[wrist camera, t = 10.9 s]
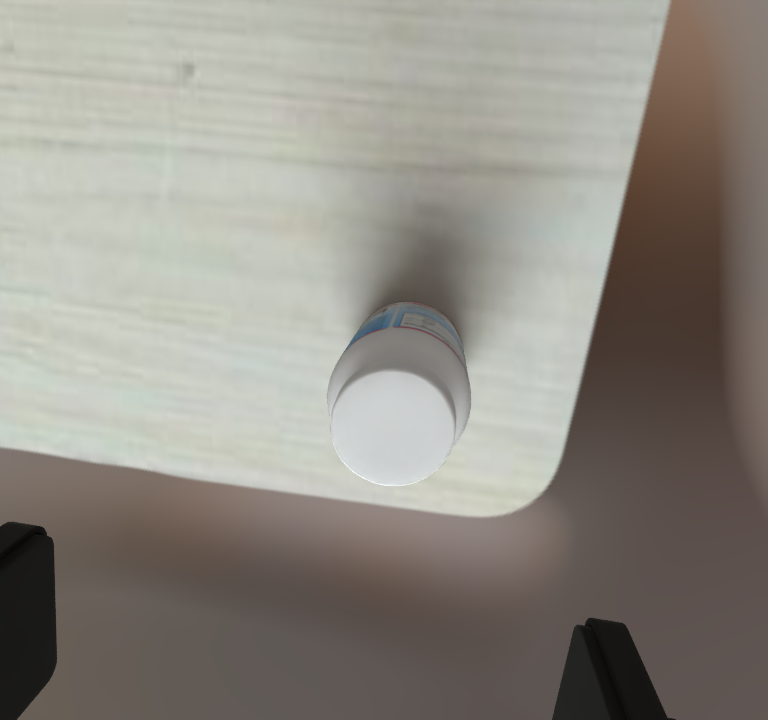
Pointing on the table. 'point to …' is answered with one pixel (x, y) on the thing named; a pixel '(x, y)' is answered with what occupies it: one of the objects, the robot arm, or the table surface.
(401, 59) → the table surface
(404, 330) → the pill bottle
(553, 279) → the table surface
